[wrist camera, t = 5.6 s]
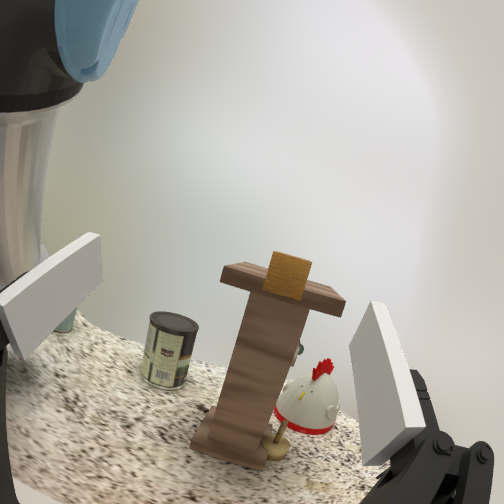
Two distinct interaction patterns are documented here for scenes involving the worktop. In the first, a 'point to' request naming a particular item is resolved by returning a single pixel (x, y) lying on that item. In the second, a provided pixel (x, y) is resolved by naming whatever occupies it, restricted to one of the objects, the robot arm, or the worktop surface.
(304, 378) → the kitchen timer
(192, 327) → the coffee can
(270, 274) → the long square bar
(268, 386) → the stand
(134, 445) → the worktop surface
